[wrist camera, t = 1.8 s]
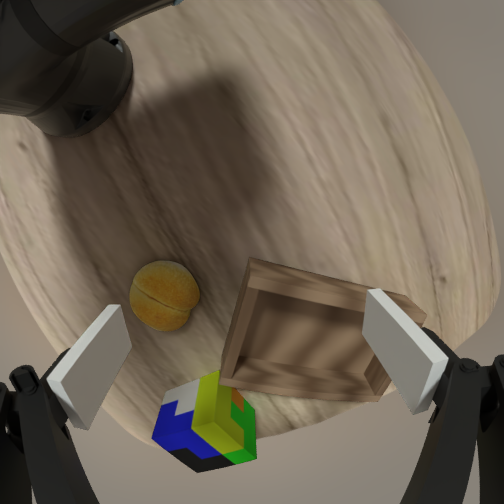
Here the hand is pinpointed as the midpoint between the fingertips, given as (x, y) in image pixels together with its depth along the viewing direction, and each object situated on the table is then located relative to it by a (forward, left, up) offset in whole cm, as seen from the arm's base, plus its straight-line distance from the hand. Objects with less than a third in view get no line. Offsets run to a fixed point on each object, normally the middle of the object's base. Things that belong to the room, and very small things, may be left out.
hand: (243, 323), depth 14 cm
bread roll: (-8, -9, -20) cm, 23 cm away
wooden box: (+12, -9, -19) cm, 25 cm away
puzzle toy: (+1, -26, -19) cm, 33 cm away
